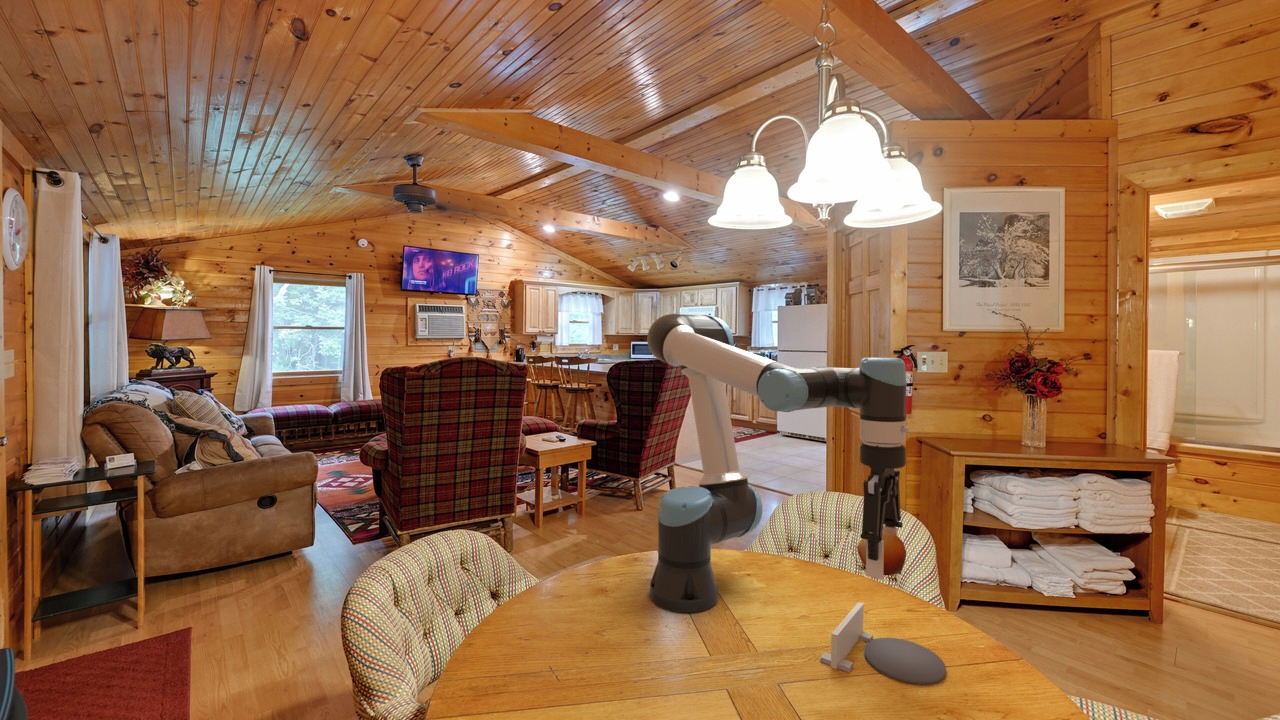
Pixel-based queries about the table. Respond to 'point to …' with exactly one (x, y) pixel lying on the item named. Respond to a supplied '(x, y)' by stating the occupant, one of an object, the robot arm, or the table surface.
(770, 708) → the table surface
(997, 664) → the table surface
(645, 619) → the table surface
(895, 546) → the fruit
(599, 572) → the table surface
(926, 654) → the mat
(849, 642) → the wall
